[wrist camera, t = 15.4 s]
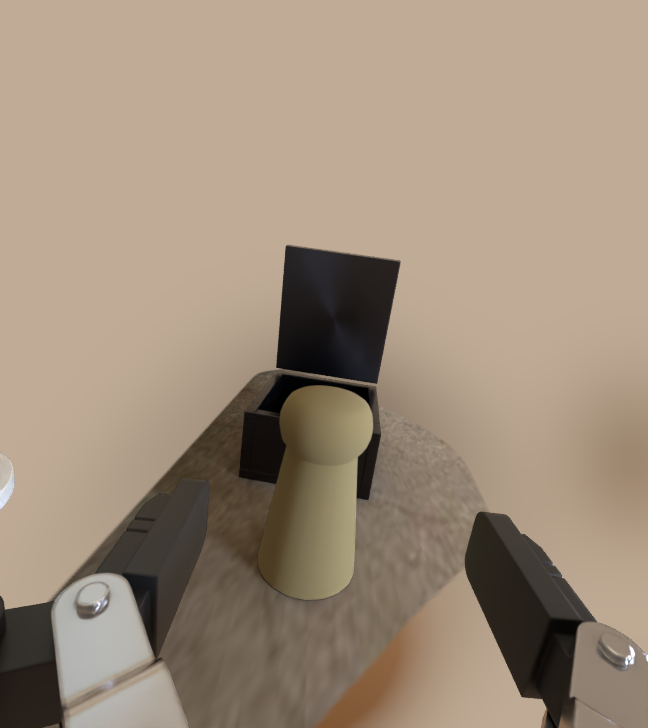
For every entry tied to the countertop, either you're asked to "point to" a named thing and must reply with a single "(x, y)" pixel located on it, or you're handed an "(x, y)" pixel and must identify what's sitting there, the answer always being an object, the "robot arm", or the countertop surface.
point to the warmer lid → (335, 312)
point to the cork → (315, 493)
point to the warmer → (264, 432)
